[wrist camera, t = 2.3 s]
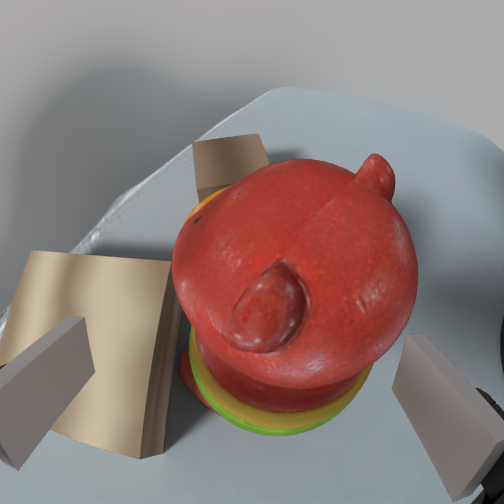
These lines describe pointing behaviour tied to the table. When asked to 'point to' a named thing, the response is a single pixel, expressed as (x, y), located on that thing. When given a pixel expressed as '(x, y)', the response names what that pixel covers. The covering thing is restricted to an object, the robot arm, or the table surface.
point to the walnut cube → (226, 162)
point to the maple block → (105, 342)
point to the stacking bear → (292, 291)
